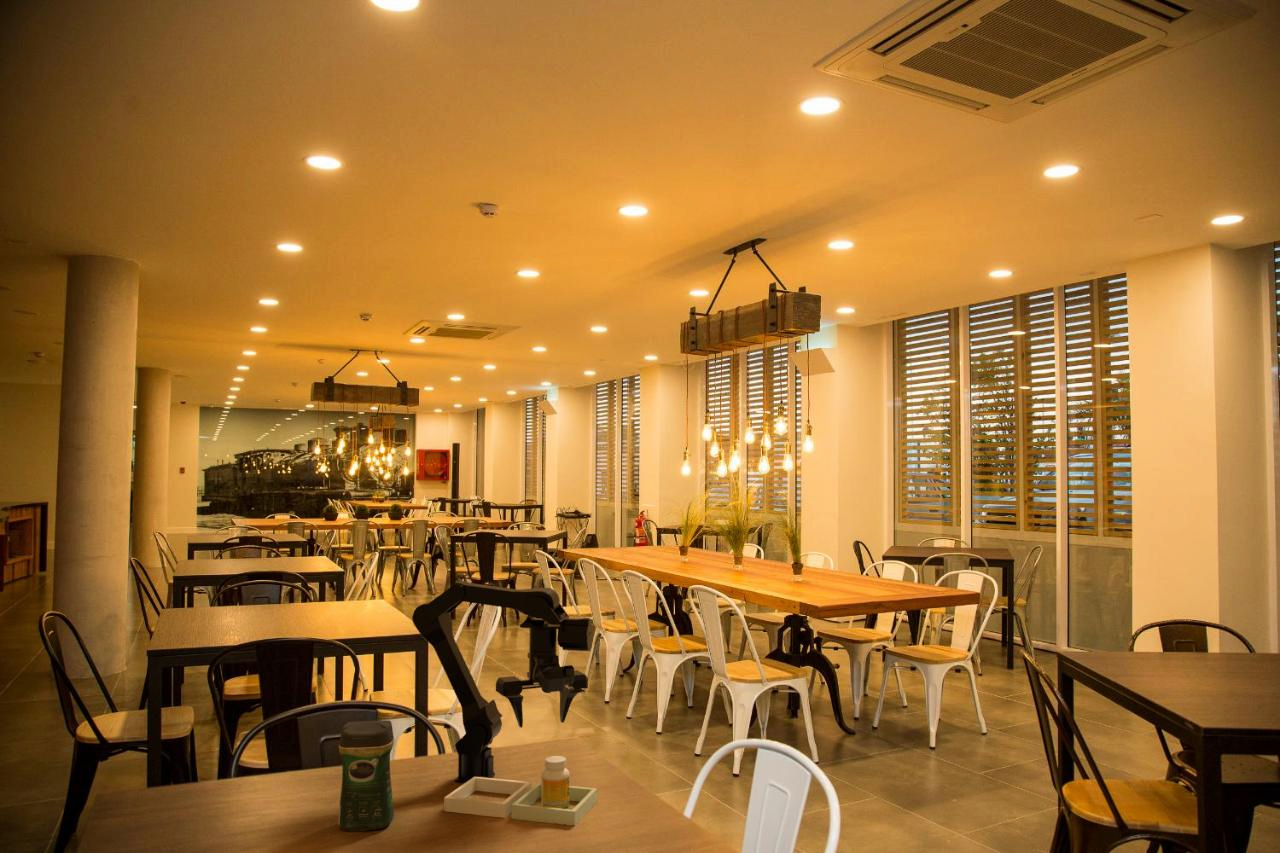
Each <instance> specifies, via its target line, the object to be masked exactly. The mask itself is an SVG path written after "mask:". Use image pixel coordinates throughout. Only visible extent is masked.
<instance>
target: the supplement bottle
mask: <svg viewBox="0 0 1280 853" xmlns="http://www.w3.org/2000/svg"><path fill="white" fill-rule="evenodd" d="M544 760H545V762H544V767H545V769H543V770H542V772H541V781H540V783H541V797H540V798H541V800H540V801H541V802H540V803H541V805H540V806H542V807H552V808H561V809H570V800H569V786H570V771H569V769H568V768H567V767H566V766H567V758H566V757H565V756H563V755H562V756H561V755H554V756H547V757H546V758H545V759H544Z"/></svg>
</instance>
